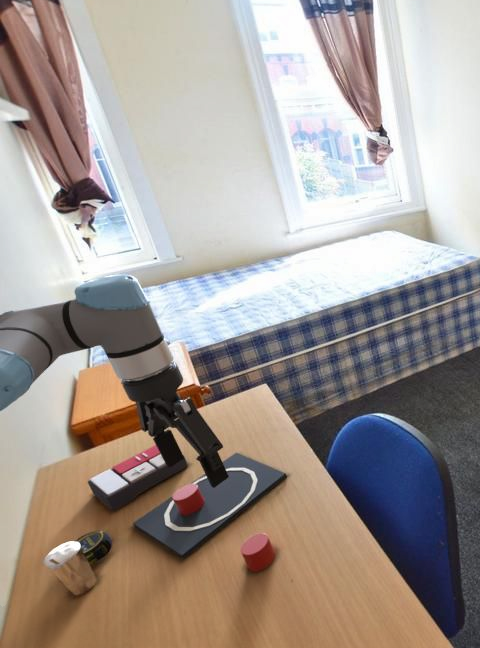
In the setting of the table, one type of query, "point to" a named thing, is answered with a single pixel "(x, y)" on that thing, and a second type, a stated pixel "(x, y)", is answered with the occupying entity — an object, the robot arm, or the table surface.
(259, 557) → the red short cylinder
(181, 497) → the red cylinder block
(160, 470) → the calculator
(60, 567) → the milkshake
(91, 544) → the tape measure
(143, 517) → the face mat
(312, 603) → the table surface
